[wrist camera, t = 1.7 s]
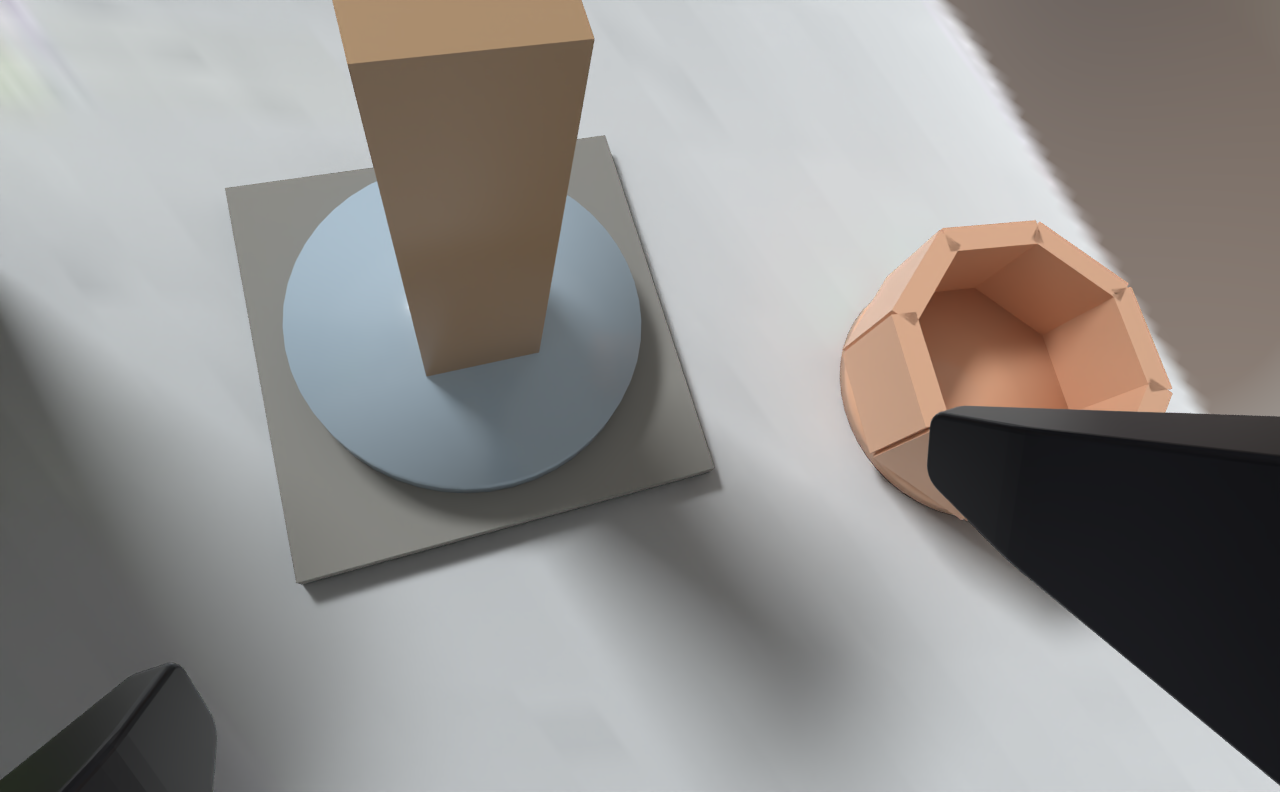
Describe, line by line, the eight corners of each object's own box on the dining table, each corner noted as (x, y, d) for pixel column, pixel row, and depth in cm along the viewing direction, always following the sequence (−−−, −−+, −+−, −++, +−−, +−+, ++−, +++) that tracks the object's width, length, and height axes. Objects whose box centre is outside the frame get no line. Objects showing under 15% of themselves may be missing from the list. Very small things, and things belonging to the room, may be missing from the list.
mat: (708, 471, 23) (714, 467, 22) (301, 584, 20) (296, 582, 19) (602, 146, 26) (605, 135, 25) (231, 199, 23) (224, 188, 22)
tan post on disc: (674, 444, 22) (901, 216, 10) (329, 535, 20) (61, 378, 7) (585, 164, 25) (679, -300, 12) (266, 211, 22) (-17, -317, 10)
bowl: (1100, 495, 25) (1205, 471, 22) (880, 538, 23) (954, 520, 20) (1019, 270, 28) (1102, 214, 24) (812, 292, 26) (867, 234, 22)
